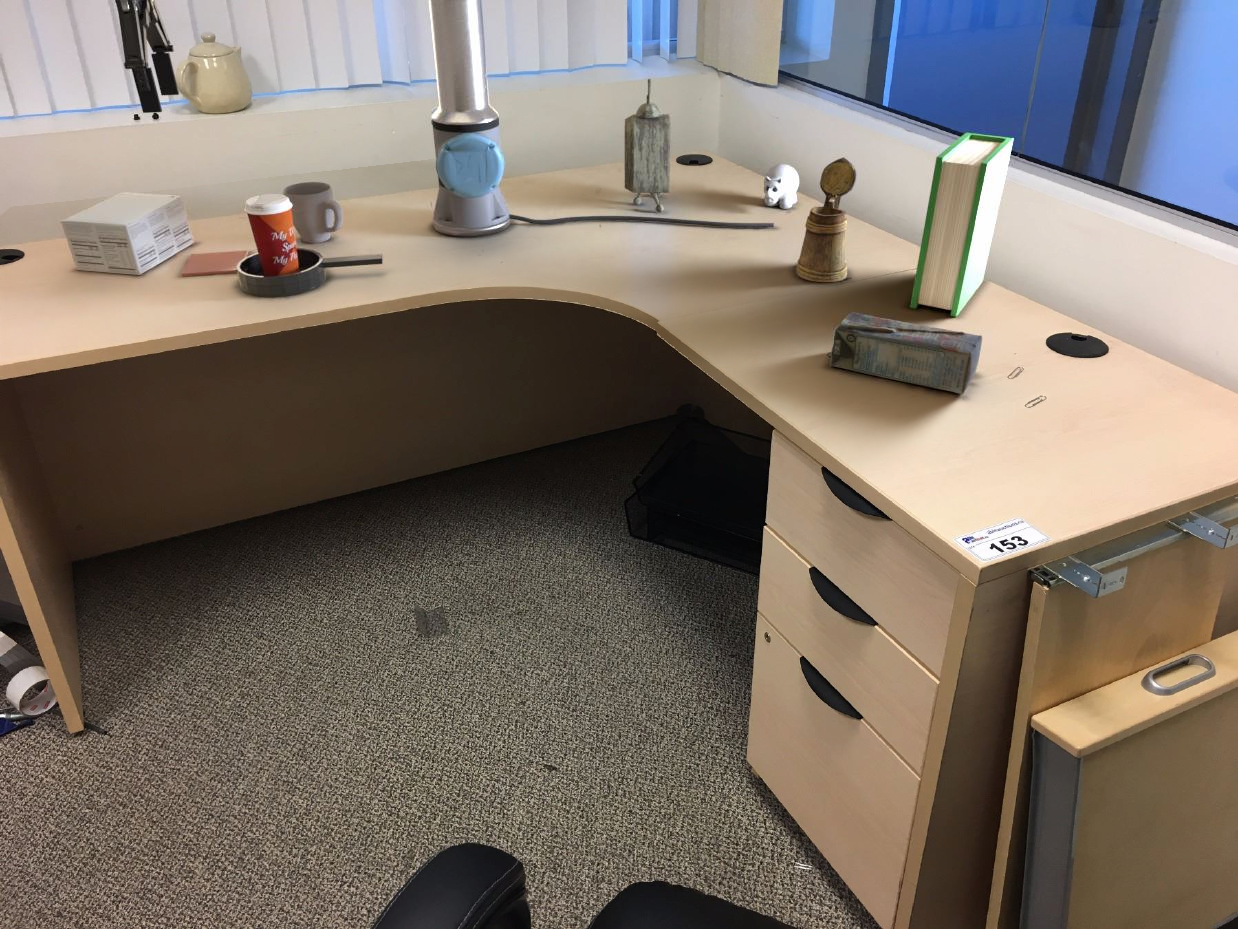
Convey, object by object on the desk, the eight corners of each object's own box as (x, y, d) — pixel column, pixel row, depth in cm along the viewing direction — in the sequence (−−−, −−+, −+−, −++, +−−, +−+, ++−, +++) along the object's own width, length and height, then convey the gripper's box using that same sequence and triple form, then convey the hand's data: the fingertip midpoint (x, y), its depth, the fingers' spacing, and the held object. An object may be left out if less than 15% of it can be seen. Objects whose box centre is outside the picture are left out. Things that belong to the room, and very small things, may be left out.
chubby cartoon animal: (748, 214, 194) (751, 172, 189) (769, 198, 203) (772, 158, 198) (782, 219, 191) (785, 176, 186) (801, 203, 200) (805, 162, 195)
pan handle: (382, 259, 166) (382, 253, 165) (382, 264, 164) (381, 258, 163) (324, 263, 164) (323, 257, 164) (323, 268, 162) (322, 262, 162)
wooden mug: (856, 259, 171) (870, 159, 162) (841, 285, 161) (855, 179, 151) (807, 253, 174) (818, 154, 164) (790, 278, 164) (800, 174, 154)
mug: (282, 241, 181) (272, 191, 175) (315, 228, 187) (307, 179, 182) (329, 251, 176) (320, 200, 171) (361, 237, 182) (354, 188, 177)
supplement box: (134, 239, 182) (120, 190, 177) (195, 243, 180) (183, 195, 175) (74, 270, 168) (57, 219, 163) (140, 275, 166) (125, 223, 161)
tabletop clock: (668, 215, 193) (671, 86, 180) (624, 215, 193) (624, 86, 180) (666, 194, 205) (669, 72, 192) (625, 194, 205) (625, 72, 192)
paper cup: (293, 289, 159) (276, 207, 152) (251, 286, 161) (233, 205, 153) (314, 273, 166) (299, 193, 158) (274, 270, 167) (258, 191, 159)
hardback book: (956, 316, 150) (987, 163, 137) (910, 307, 153) (936, 156, 140) (982, 281, 162) (1013, 138, 149) (939, 273, 165) (966, 132, 153)
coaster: (248, 253, 175) (247, 250, 175) (240, 272, 167) (240, 269, 167) (192, 256, 174) (191, 254, 173) (181, 276, 165) (180, 273, 165)
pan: (328, 264, 170) (325, 245, 168) (323, 293, 159) (319, 273, 157) (247, 269, 168) (242, 250, 166) (235, 300, 156) (230, 280, 154)
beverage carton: (845, 346, 141) (851, 305, 137) (977, 374, 133) (987, 331, 129) (827, 367, 135) (833, 324, 131) (965, 398, 127) (975, 354, 123)
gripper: (119, -50, 153) (154, 88, 164) (74, -36, 132) (118, 121, 144) (167, -50, 154) (199, 87, 165) (131, -37, 133) (170, 118, 145)
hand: (161, 103), depth 155 cm, fingers open, 13 cm apart
